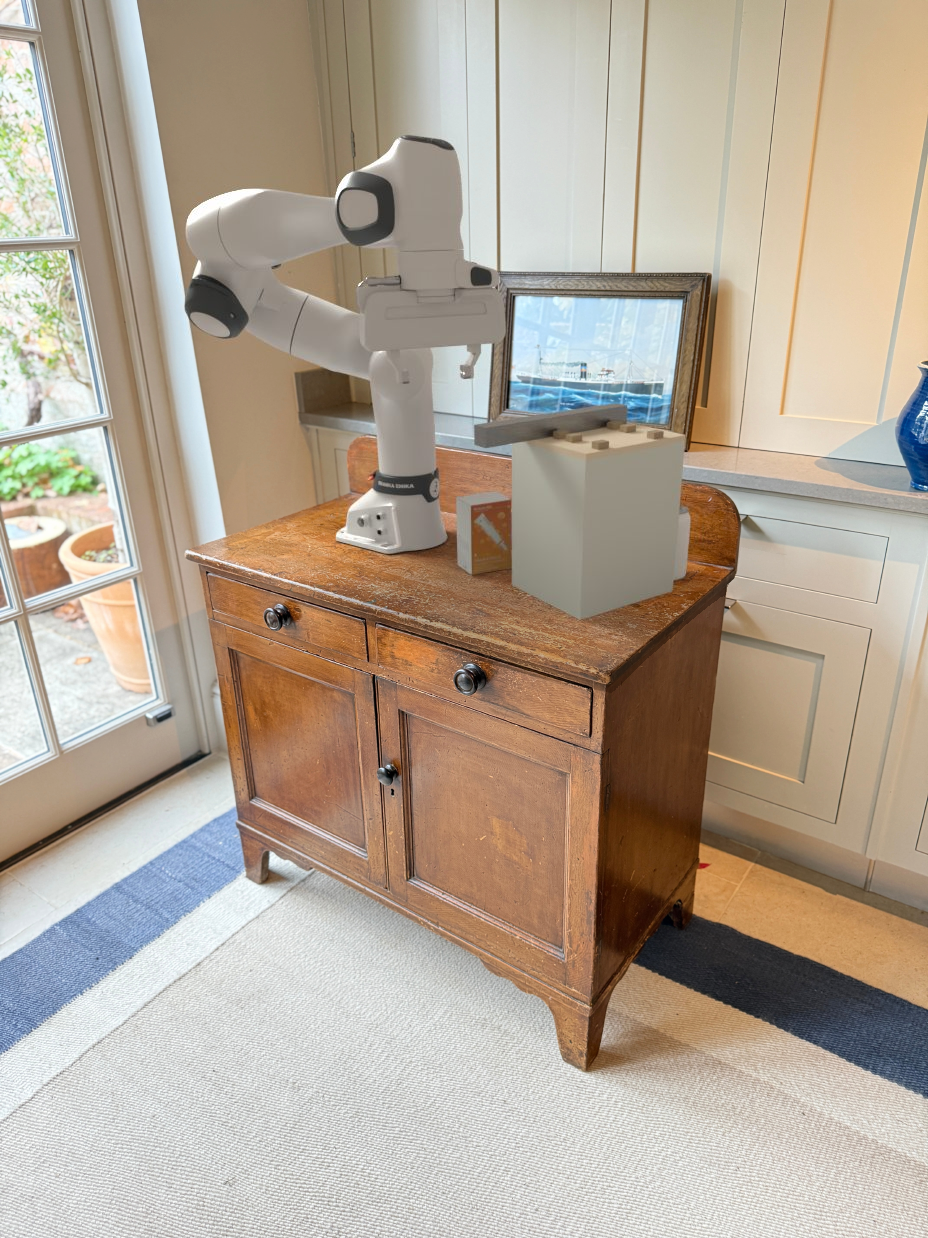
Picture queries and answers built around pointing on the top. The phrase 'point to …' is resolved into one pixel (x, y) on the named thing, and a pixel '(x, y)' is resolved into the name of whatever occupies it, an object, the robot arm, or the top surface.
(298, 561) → the top surface
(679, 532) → the can
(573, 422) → the long grey bar
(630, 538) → the stand
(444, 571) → the top surface
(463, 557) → the small box
